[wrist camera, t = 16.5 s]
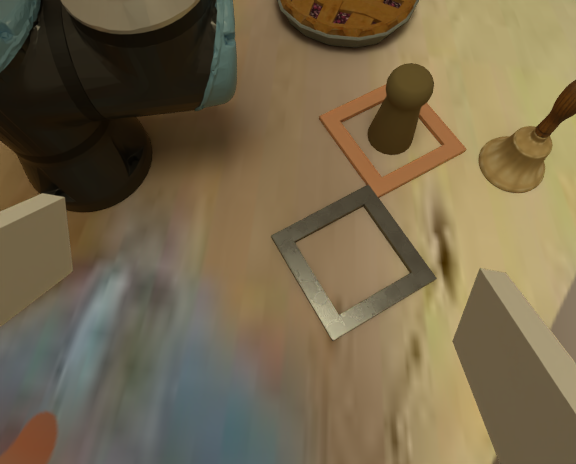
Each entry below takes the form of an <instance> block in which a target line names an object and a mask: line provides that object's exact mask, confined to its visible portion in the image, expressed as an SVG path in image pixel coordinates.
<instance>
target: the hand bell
mask: <svg viewBox="0 0 576 464" xmlns="http://www.w3.org/2000/svg"><path fill="white" fill-rule="evenodd" d="M574 114H576V80H575V81H573V82H572V83H571V84H569V85H568V86H567V87H566V88H565V89H564V90H563V92H562V93H561V94H560V95H559V97H558V98H557V100H556V101H555V103H554V106H553V108H552V110H551V112H550V114H549V115H548V116H547V117H546V118H545V119H544V120H543V121H542V122H541V123H540V124H539V125H538V126H537V127H533V126H527V127H523V128H521V129H519V130H517V131H516V132H515V133H514V134H513V135H511V136H510V137H507V136H506V137H499V138H495V139H493V140H491V141H489V142H488V143H486V144H485V145H484V147H483V148H482V149H481V152H480V154H479V165H480V169H481V171H482V173H483V174H484V176H485V177H486V178H487V180H488V181H490V182H491V183H492V184H493V185H495V186H496V187H498V188H500V189H502V190H505V191H508V192H515V193H522V192H527V191H530V190H532V189H534V188H535V187H537V186H538V185H539V184H540V182H541V181H542V179H543V177H544V173H545V164H544V160H545V158H546V157H547V156H548V154H549V153H550V152H551V150H552V140H551V138H550V135H551V133H552V132H553V131H554V130H555V129H556V128H557V127H558V125H559V124H560V123H561V122H562V121H564V120H565V119H567V118H569V117H571V116H573V115H574Z"/></svg>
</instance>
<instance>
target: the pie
mask: <svg viewBox="0 0 576 464" xmlns="http://www.w3.org/2000/svg"><path fill="white" fill-rule="evenodd" d="M277 1H278V4H279V6H280V9H281V11H282V12H283V13H284V14H285V15H286V16H287V18H288V20H289V22H290V24H292V25H293V26H294V27H295V28H296V29H298V30H299V31H300V32H301V33H303V34H304V35H305V36H307V37H310V38H312V39H315V40H317V41H320V42H322V43H325V44H328V45H333V46H344V47H355V48H356V47H362V46H367V45H373V44H378V43H379V42H380V41H382V40H383V39H384V38H386V37H387V36H388V35H390V34H391V33H392V32H393V31H395V30H396V29H397V28H398V27H400V26H401V25H402V24H404V23H405V22H407V21H408V20H409V18H410V16H411V14H412V13H413V11H414V9H415V7H416V5H417V4H418V2H419V0H277Z"/></svg>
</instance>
